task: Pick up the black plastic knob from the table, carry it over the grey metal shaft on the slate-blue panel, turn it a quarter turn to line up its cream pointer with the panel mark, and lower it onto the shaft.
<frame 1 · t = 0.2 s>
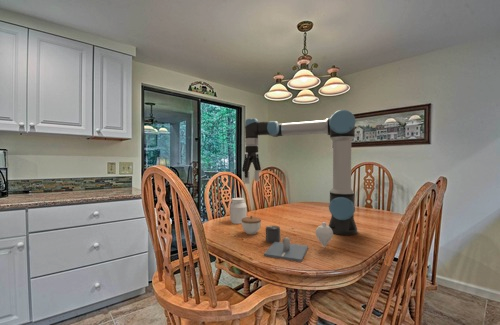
hand: (252, 182, 141), 27 cm above the table, fingers open, 13 cm apart
knob: (273, 240, 122), on the table
lidded jar: (251, 233, 135), on the table
spinning top: (324, 248, 111), on the table
jar: (238, 221, 159), on the table
shaft plate: (286, 251, 107), on the table
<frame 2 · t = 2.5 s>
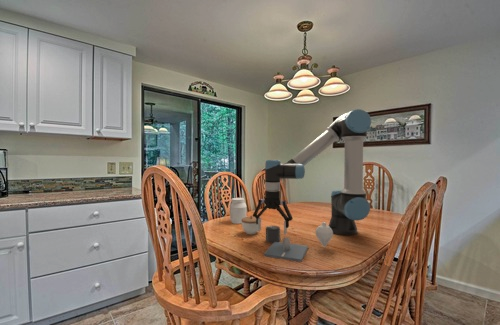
hand: (272, 232, 122), 4 cm above the table, fingers open, 13 cm apart
nothing on the table moved.
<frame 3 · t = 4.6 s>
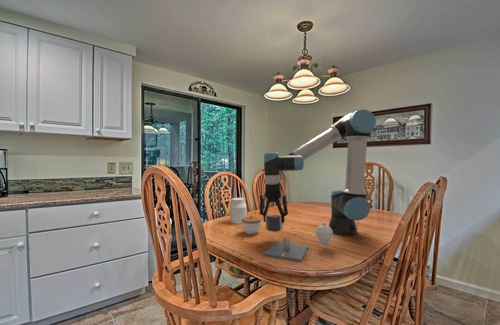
hand: (274, 228, 122), 6 cm above the table, fingers closed on knob, 7 cm apart
knob: (274, 229, 122), point 6 cm above the table, touching gripper
everything else where it was.
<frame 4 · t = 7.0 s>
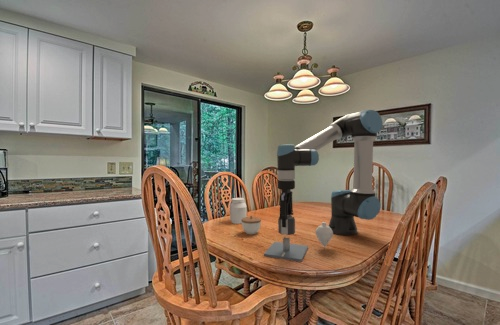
hand: (286, 231, 107), 9 cm above the table, fingers closed on knob, 7 cm apart
knob: (286, 232, 107), point 9 cm above the table, touching gripper
everything else where it was.
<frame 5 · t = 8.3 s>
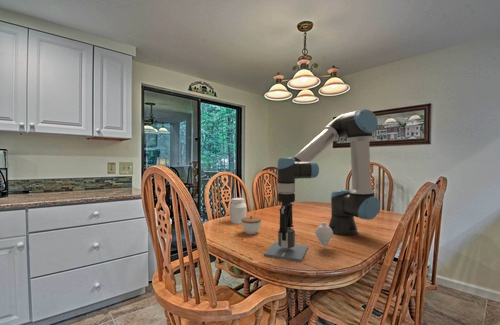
hand: (286, 244, 107), 3 cm above the table, fingers closed on knob, 7 cm apart
knob: (286, 245, 107), point 3 cm above the table, touching gripper
everything else where it was.
when the fingers open (2 cm above the table, at t = 9.6 s): knob drops 1 cm, resting on shaft plate.
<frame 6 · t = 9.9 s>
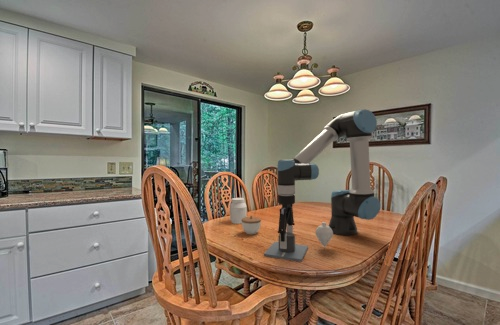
hand: (286, 243, 107), 4 cm above the table, fingers open, 11 cm apart
knob: (286, 249, 107), point 1 cm above the table, touching shaft plate
everything else where it was.
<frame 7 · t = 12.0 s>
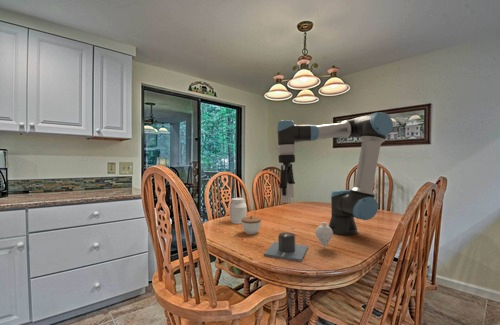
hand: (288, 200, 112), 22 cm above the table, fingers open, 13 cm apart
nothing on the table moved.
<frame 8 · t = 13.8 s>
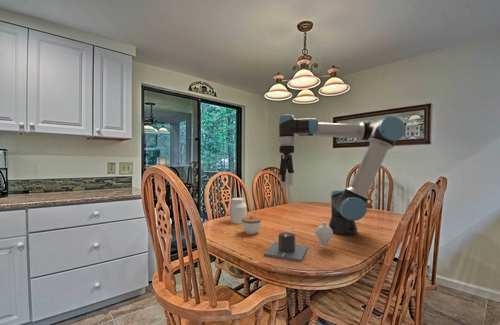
hand: (287, 186, 125), 27 cm above the table, fingers open, 13 cm apart
nothing on the table moved.
at the end: knob 0.1 cm off-centre on the shaft plate, point 1.0 cm above the shaft plate's base; the gripper is holding nothing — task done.
